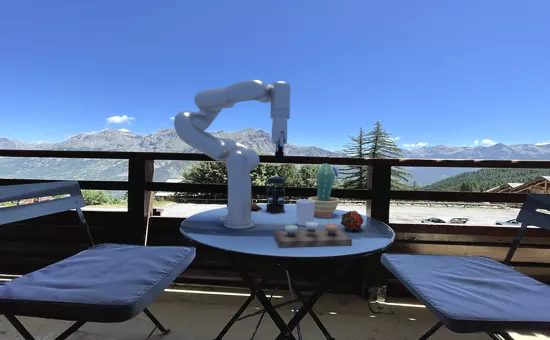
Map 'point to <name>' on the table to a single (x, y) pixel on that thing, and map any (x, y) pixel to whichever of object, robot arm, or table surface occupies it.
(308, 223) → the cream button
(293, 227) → the sage button
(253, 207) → the sunglasses case
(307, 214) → the white cup
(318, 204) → the potted cactus
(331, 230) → the terracotta button
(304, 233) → the button panel
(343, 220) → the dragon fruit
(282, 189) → the french press
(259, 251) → the table surface
